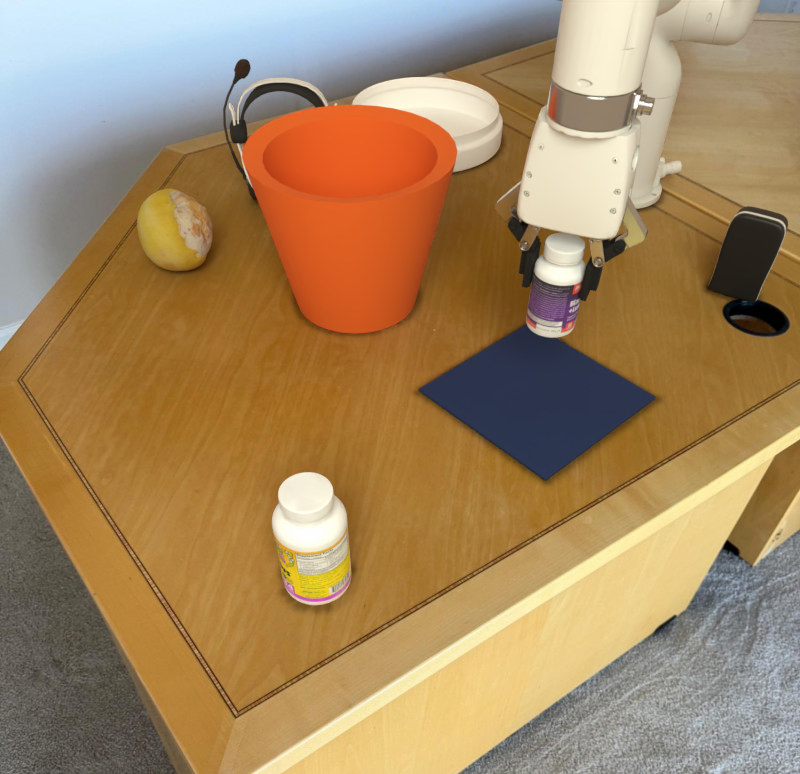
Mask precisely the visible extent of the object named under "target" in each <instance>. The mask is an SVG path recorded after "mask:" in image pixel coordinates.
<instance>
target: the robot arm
mask: <svg viewBox="0 0 800 774" xmlns="http://www.w3.org/2000/svg"><path fill="white" fill-rule="evenodd" d="M557 1H559V2H561V9H560V15H559V23H558V29H557V36H556V42H555V50H554V56H553V64H552V69H551V77H550V83H549V90H548V98H547V104H545V105H544V106H542V107H541V108H540V111H539V114H538V116H537V118H536V121H535V125H534V128H533V131H532V134H531V138H530V142H529V145H528V148H527V154H526V158H525V163H524V167H523V171H522V176H521V180H520V181H519V182H518V183H516V184H515V185H514V186H512V188H510V189H509V190H508V191H507V192H506V193H504V194H503V195H502V196H500V198H499V199H498V200H497V202H496V203H495V205H494V207H493V208H494V211H495V212H496V213H497V215H498V216H499V217H500V219H501V220H502V221H503V222H504V223H505V224H506V225H507V228H508V230H509V231H510V233H511V234H512V235H513V237H514V238H515V240H516V241H517V242H518V248H519V250H521V254H520V262H519V267H518V274H519V275H522V281H521V287H522V288H530V287H531V284H532V278H533V271H534V266H535V262H536V260H537V259H538V258H539V257H540V253H541V248H542V247H541V246H542V242H541V238H539V236H538V235H539V233H540V231H541V229H545V230H549V231H554V232H557V233H568V234H573V235H577V236H579V237H581V238H582V237H583V238H587V239H588V242H589V247H590V256H589V259H588V261H587V263H586V264H585V265H586V268H585V273H584V277H583V282H582V287H581V291H580V296H579V299H581V301H582V302H586V301H587V299H588V297H589V295H590V293H591V291H593V292H597V291H598V288H599V284H600V282H601V281H600V280H601V276H602V272H603V268H604V265H605V264H606V263H607V262H609V261H612V259H614V258H616V257H617V256H619V255H622V254H623V253H624V251H626V250H628V249H631V248H633V247H635V246H637V245H639V244H641V243H644V242H645V240H646V239H647V236H648V232H649V229H648V227H647V226H646V224H645V222H644V220H643V219H642V216H641V215H640V213H639V211H638V210H639V209H644V208H648V207H650V206H653V205H654V204H656V203H657V202H658V201H659V200H660V198H661V195H662V192H663V185H662V183H661V182H660V181H661V179H664V178H665V177H666V176H670V175H677V174H679V173H681V172H682V168H683V164H682V161H681V160H680V159H676V160H671V161H668V162H666V158H665V156H662V154H663V151H664V150H663V149H664V146H665V143H666V138H667V135H668V131H669V127H670V124H671V121H672V116H673V113H674V109H675V105H676V103H677V102H676V101H677V99H678V94H679V90H680V86H681V83H682V77H683V68H682V67H683V66H682V62H681V58H680V55H679V53H678V50H677V48H676V45H675V43H674V41H677V42H678V41H679V42H681V41H682V42H689V43H690V42H691V43H697V44H704V45H711V46H732V45H735V44H737V43H739V42H741V41H742V40H743V39H744V38H745V37H746V35H747V34H748V32H749V30H750V29H751V27H752V24H753V22H754V20H755V18H756V15H757V12H758V8H759V6H760V3H761V0H557ZM516 204H517V206H515V205H516ZM622 223H623V225H624V227H625V228H626V231H625V232H624V233H621V234H618V233H619V230H620V228H621V225H622ZM617 234H618V235H617Z"/></svg>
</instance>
